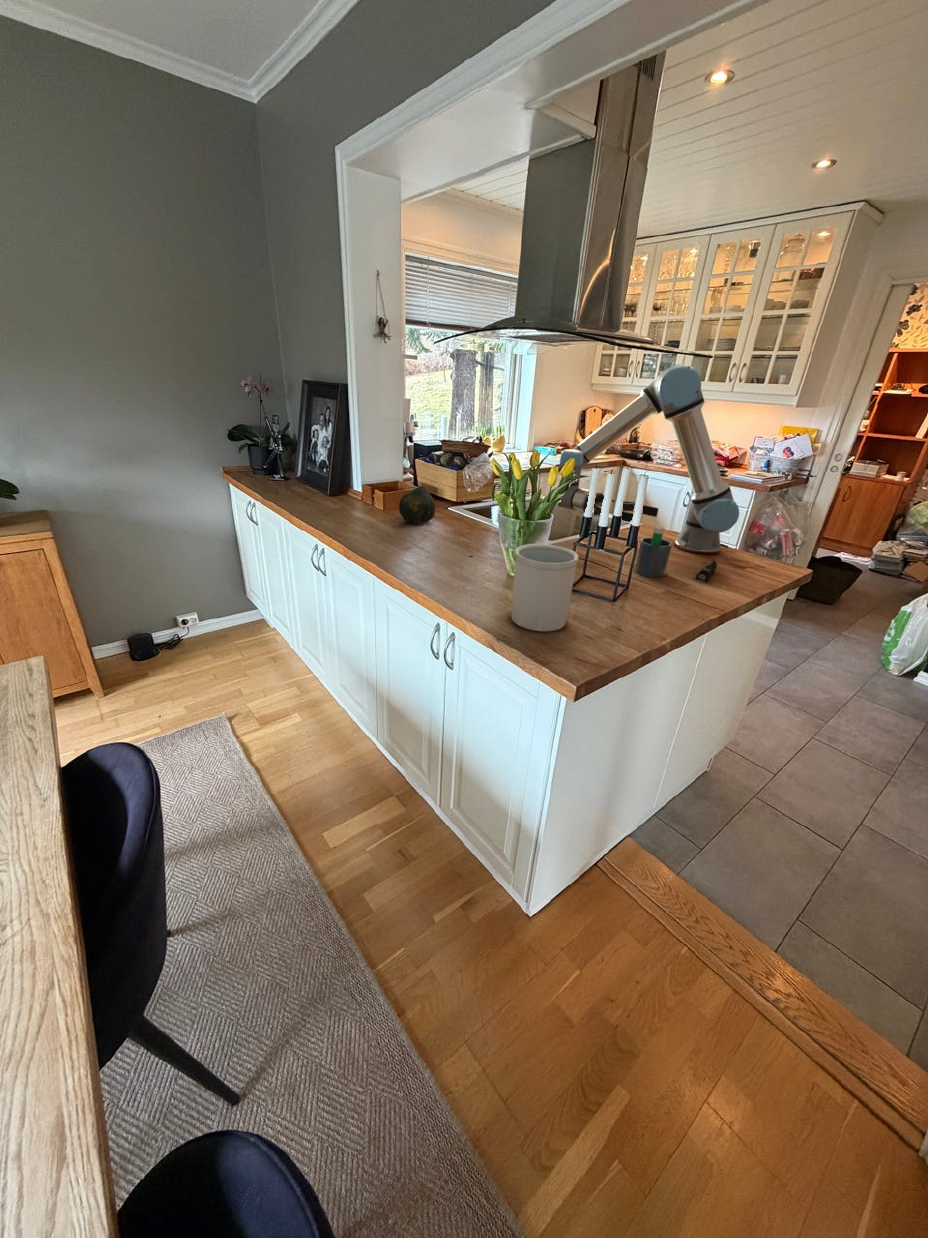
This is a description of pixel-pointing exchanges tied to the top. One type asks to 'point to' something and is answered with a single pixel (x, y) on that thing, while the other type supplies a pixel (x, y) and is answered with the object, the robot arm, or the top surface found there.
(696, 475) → the robot arm
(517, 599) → the utensil holder
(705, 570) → the electric trimmer
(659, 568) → the cup
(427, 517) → the squash
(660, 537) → the green marker
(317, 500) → the top surface
